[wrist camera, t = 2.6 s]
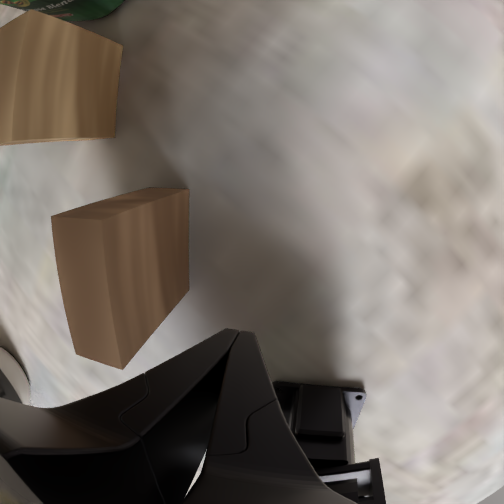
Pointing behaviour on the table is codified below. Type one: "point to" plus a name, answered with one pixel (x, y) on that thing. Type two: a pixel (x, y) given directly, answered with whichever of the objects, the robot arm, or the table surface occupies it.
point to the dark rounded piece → (13, 380)
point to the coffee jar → (67, 8)
